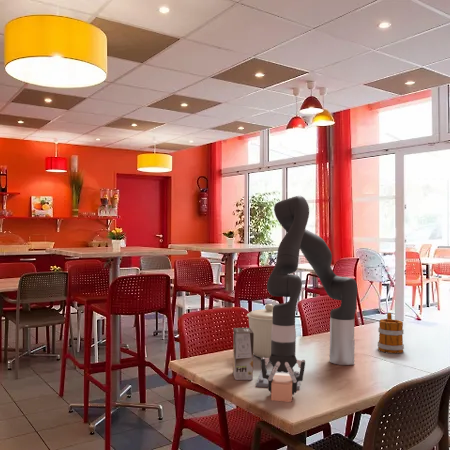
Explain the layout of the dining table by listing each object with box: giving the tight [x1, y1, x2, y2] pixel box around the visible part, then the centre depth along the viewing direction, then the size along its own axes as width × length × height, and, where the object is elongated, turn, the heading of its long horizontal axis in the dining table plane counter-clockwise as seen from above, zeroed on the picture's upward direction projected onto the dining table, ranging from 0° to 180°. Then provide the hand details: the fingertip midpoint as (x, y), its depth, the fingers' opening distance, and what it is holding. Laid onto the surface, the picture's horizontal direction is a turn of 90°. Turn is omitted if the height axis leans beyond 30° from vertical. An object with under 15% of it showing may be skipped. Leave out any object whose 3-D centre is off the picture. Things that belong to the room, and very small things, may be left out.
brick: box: [270, 375, 293, 403], centre depth 150 cm, size 6×9×5 cm, turn 169°
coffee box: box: [232, 327, 254, 381], centre depth 170 cm, size 9×6×16 cm
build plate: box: [255, 370, 301, 391], centre depth 165 cm, size 14×14×2 cm
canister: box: [246, 303, 275, 359], centre depth 198 cm, size 18×18×21 cm
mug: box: [377, 312, 405, 354], centre depth 213 cm, size 11×16×15 cm, turn 166°
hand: (282, 392), depth 150 cm, fingers closed on brick, 6 cm apart
